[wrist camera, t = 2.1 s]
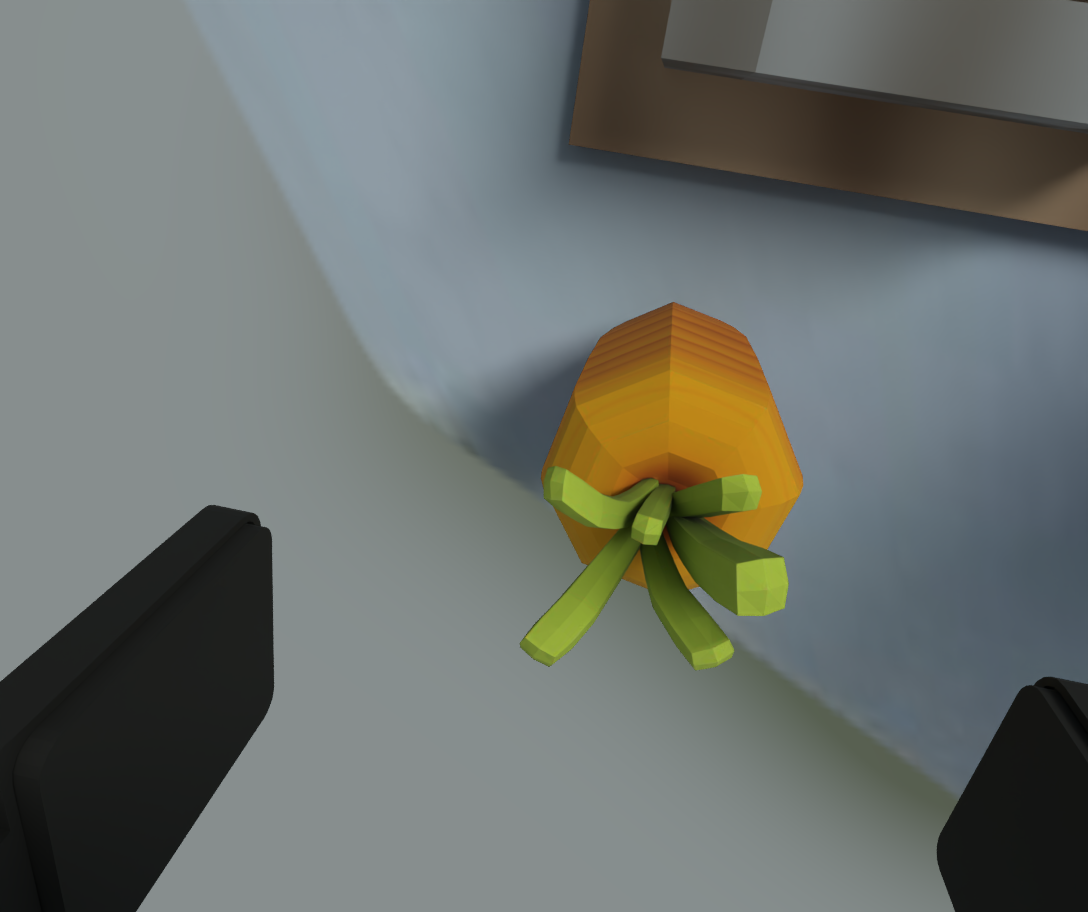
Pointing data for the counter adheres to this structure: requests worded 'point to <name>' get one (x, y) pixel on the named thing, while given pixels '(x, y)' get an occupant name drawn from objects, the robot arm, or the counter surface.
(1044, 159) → the docking stand
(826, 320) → the counter surface
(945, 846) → the robot arm
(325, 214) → the counter surface
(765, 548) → the carrot
